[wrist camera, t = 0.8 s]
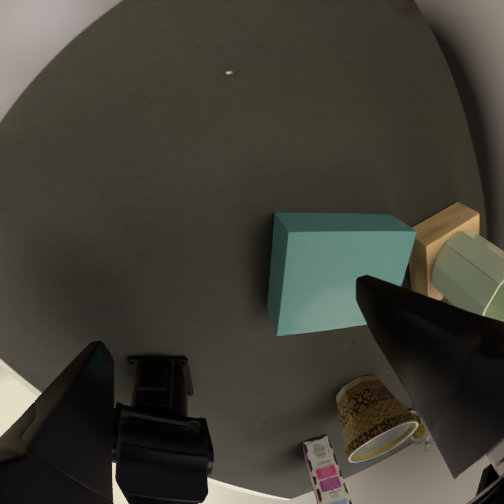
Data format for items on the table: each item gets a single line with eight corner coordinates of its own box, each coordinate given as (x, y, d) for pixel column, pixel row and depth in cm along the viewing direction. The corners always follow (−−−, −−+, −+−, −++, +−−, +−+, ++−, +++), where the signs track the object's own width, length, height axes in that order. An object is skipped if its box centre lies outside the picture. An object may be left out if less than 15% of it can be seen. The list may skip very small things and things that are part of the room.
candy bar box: (300, 442, 41) (324, 521, 27) (327, 433, 41) (356, 510, 27) (303, 460, 46) (323, 526, 32) (326, 453, 47) (349, 517, 32)
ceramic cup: (314, 412, 37) (335, 468, 28) (342, 368, 33) (374, 432, 24) (382, 401, 40) (406, 447, 31) (412, 360, 36) (445, 408, 27)
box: (370, 297, 28) (389, 320, 24) (266, 307, 26) (276, 336, 23) (390, 214, 24) (416, 231, 20) (274, 212, 22) (288, 231, 19)
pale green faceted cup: (464, 287, 26) (505, 326, 19) (421, 295, 25) (466, 343, 18) (483, 230, 23) (533, 263, 16) (442, 229, 21) (501, 270, 15)
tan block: (458, 259, 28) (476, 273, 25) (410, 290, 29) (427, 308, 26) (457, 201, 25) (479, 213, 21) (404, 231, 25) (425, 246, 22)
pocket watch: (389, 418, 44) (409, 456, 35) (424, 400, 44) (446, 435, 36) (384, 433, 48) (401, 468, 39) (416, 417, 48) (434, 449, 39)
